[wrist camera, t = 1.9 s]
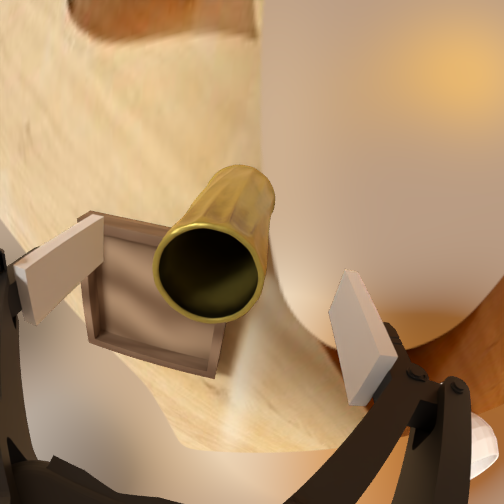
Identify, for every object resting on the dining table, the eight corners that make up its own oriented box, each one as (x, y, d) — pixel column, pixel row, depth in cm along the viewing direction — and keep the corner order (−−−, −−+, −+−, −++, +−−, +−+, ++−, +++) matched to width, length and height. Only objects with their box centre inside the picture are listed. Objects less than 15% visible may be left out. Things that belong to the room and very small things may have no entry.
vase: (283, 175, 25) (292, 233, 12) (264, 239, 28) (254, 344, 15) (214, 157, 25) (150, 197, 12) (199, 222, 28) (138, 312, 15)
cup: (415, 383, 35) (447, 471, 21) (475, 365, 33) (514, 440, 20) (402, 423, 39) (422, 499, 25) (456, 407, 38) (483, 475, 24)
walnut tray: (90, 210, 28) (77, 218, 26) (242, 242, 28) (239, 254, 26) (97, 330, 34) (88, 342, 32) (217, 364, 35) (214, 378, 32)
